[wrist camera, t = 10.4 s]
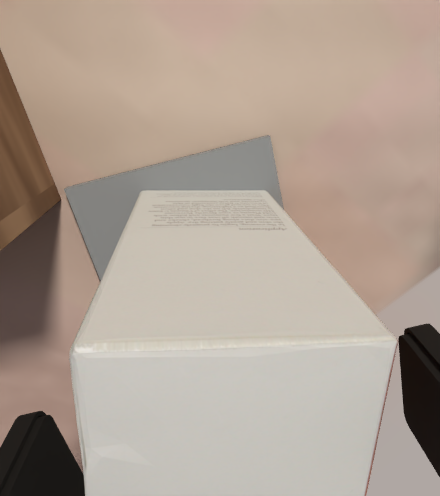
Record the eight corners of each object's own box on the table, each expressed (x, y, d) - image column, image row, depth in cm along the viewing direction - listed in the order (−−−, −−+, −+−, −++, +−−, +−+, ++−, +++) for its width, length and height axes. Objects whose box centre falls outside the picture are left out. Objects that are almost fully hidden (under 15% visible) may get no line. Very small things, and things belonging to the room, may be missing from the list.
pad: (267, 135, 19) (270, 136, 19) (303, 324, 23) (306, 329, 23) (67, 186, 19) (64, 189, 19) (137, 366, 23) (136, 372, 23)
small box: (261, 328, 22) (349, 604, 10) (147, 331, 22) (99, 626, 10) (270, 185, 19) (408, 338, 7) (138, 186, 19) (55, 350, 7)
